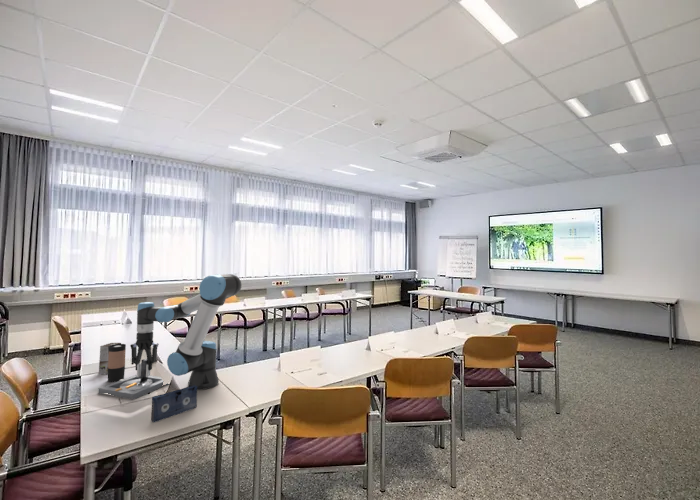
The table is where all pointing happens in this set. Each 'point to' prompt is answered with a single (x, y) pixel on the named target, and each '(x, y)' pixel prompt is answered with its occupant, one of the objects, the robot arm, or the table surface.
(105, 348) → the coffee box
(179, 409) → the vhs cassette tape
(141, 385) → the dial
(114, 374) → the travel mug
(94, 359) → the table surface
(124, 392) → the gray square tray
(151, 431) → the table surface
